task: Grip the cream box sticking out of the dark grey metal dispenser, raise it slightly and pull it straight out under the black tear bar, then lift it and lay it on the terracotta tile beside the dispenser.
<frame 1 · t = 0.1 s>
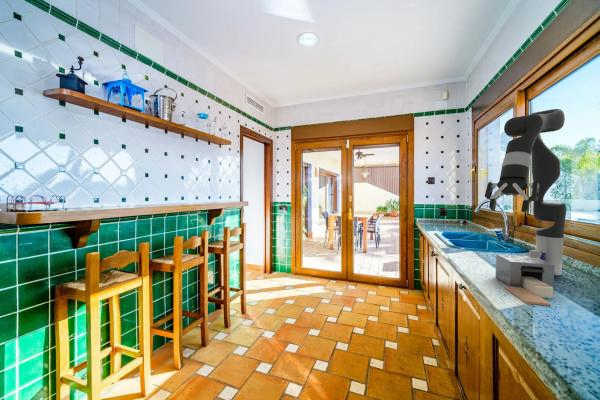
hand: (507, 211, 88), 31 cm above the table, tool tilted 20°, fingers open, 8 cm apart
energy drink: (536, 278, 113), on the table
cream box: (534, 291, 99), on the table
dispenser: (522, 283, 106), on the table
tile: (526, 296, 94), on the table
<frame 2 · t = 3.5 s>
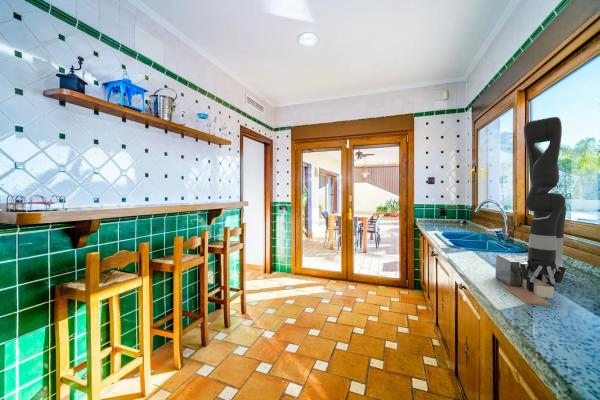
hand: (539, 291, 96), 1 cm above the table, tool pointing down, fingers closed on cream box, 5 cm apart
cream box: (534, 291, 99), on the table, touching gripper
everything else where it was.
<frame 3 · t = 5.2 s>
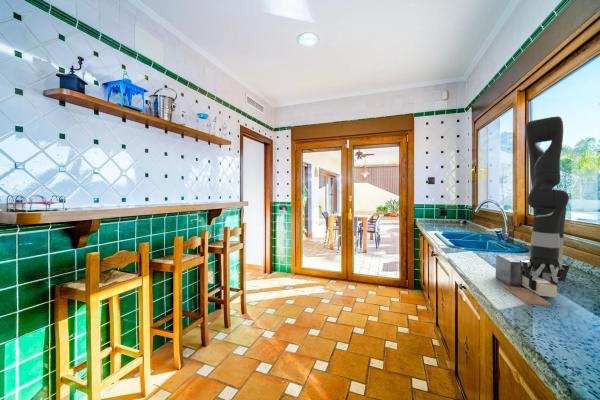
hand: (542, 290, 94), 2 cm above the table, tool pointing down, fingers closed on cream box, 5 cm apart
cream box: (536, 289, 97), point 1 cm above the table, touching gripper
everything else where it was.
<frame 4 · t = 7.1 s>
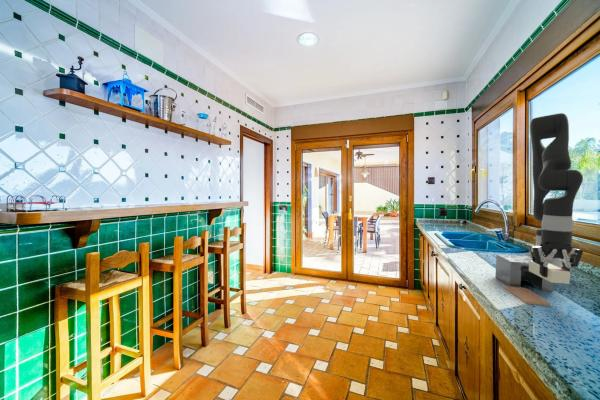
hand: (553, 277, 89), 9 cm above the table, tool pointing down, fingers closed on cream box, 5 cm apart
cream box: (547, 276, 92), point 8 cm above the table, touching gripper
everything else where it was.
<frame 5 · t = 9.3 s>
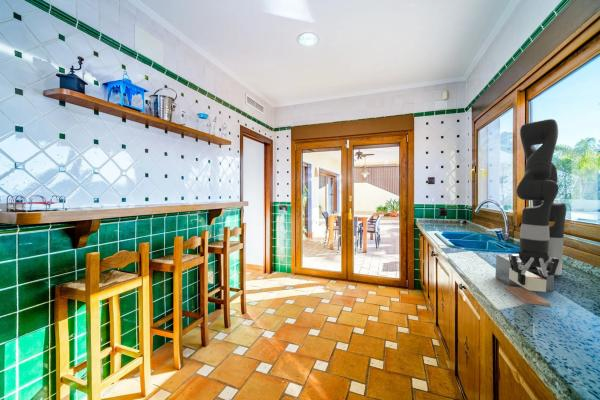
hand: (531, 285, 90), 5 cm above the table, tool pointing down, fingers closed on cream box, 5 cm apart
cream box: (526, 284, 93), point 4 cm above the table, touching gripper
everything else where it was.
when the fingers open (2 cm above the table, at t = 10.7 s): cream box stays where it is, resting on tile.
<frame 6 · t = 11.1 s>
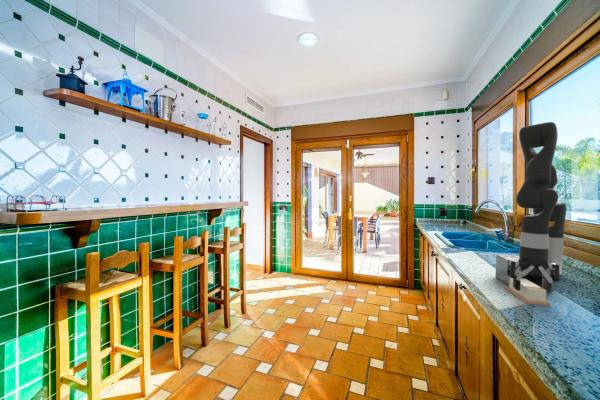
hand: (531, 291, 91), 3 cm above the table, tool pointing down, fingers open, 8 cm apart
cream box: (526, 294, 93), point 1 cm above the table, touching tile
everything else where it was.
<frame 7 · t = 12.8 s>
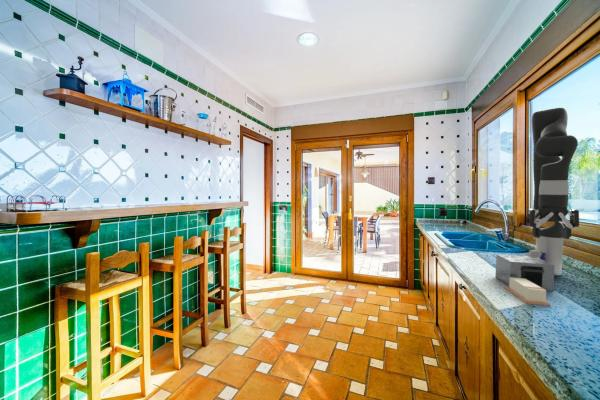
hand: (551, 238, 93), 21 cm above the table, tool pointing down, fingers open, 8 cm apart
nothing on the table moved.
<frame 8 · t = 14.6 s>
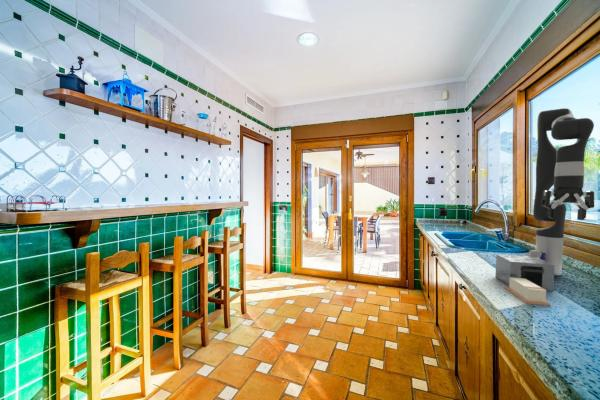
hand: (566, 219, 94), 28 cm above the table, tool pointing down, fingers open, 8 cm apart
nothing on the table moved.
at the end: cream box inside the target area on the tile (0.1 cm from its centre), point 0.8 cm above the tile's base; cream box touching tile; the gripper is holding nothing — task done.
